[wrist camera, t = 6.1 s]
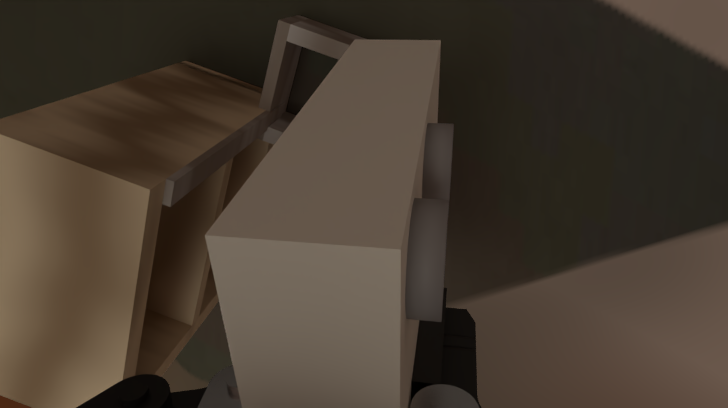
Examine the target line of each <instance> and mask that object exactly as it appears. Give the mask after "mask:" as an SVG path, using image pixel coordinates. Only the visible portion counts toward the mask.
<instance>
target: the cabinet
mask: <svg viewBox="0 0 728 408" xmlns="http://www.w3.org/2000/svg"><path fill="white" fill-rule="evenodd" d="M355 39H362V40H368V39H365V38H362V37H359V36H356V35H354V34H351V33H348V32H345V31H342V30H340V29H337V28H334V27H331V26H328V25H325V24H323V23H320V22H317V21H314V20H311V19H309V18H306V17H303V16H300V15H296V16H292V17H288V18H284V19H280V20H278V24H277V29H276V33H275V38H274V42H273V46H272V51H271V55H270V59H269V64H268V68H267V73H266V77H265V81H264V86H263V88H260V87H257V86H254V85H252V84H249V83H246V82H243V81H241V80H238V79H235V78H232V77H230V76H227V75H224V74H221V73H218V72H216V71H213V70H210V69H207V68H205V67H202V66H199V65H196V64H194V63H191V62H188V61H183V62H179V63H176V64H173V65H170V66H167V67H164V68H160V69H157V70H154V71H151V72H148V73H145V74H141V75H138V76H135V77H132V78H129V79H126V80H122V81H119V82H116V83H113V84H110V85H107V86H103V87H100V88H97V89H94V90H91V91H88V92H84V93H81V94H78V95H75V96H72V97H69V98H65V99H62V100H59V101H56V102H53V103H50V104H46V105H43V106H40V107H37V108H34V109H31V110H27V111H24V112H21V113H18V114H15V115H11V116H8V117H5V118H2V119H0V395H2V396H4V397H7V398H9V399H12V400H14V401H17V402H20V403H22V404H25V405H27V406H30V407H32V408H76V407H78V406H80V405H81V404H83V403H85V402H86V401H88V400H90V399H91V398H93V397H95V396H96V395H98V394H100V393H101V392H103V391H105V390H106V389H108V388H110V387H111V386H113V385H115V384H116V383H118V382H120V381H122V380H124V379H126V378H129V377H132V376H136V375H142V374H153V375H158V376H160V377H162V375H163V374H164V373H165V371H166V370H167V369H168V367H169V366H170V365H171V363H172V362H173V361H174V359H175V358H176V357H177V355H178V354H179V353H180V351H181V350H182V349H183V347H184V346H185V345H186V343H187V342H188V341H189V340H190V338H191V337H192V336H193V334H194V333H195V332H196V330H197V329H198V328H199V326H200V325H201V324H202V322H203V321H204V320H205V318H206V317H207V316H208V314H209V313H210V312H211V310H212V309H213V308H214V306H215V305H216V304H217V303H218V301H219V299H218V294H217V290H216V285H215V280H214V276H213V271H212V266H211V262H210V257H209V253H208V248H207V243H206V239H205V234H206V233H207V232H208V230H209V229H210V228H211V226H212V225H213V224H214V223H215V221H216V220H217V219H218V217H219V216H220V215H221V213H222V212H223V211H224V209H225V208H226V207H227V206H228V204H229V203H230V202H231V200H232V199H233V198H234V196H235V195H236V194H237V192H238V191H239V190H240V189H241V187H242V186H243V185H244V183H245V182H246V181H247V179H248V178H249V177H250V176H251V174H252V173H253V172H254V170H255V169H256V168H257V166H258V165H259V164H260V162H261V161H262V160H263V159H264V157H265V156H266V155H267V153H268V152H269V151H270V149H271V148H272V147H273V145H274V144H275V143H276V142H277V140H278V139H279V138H280V136H281V135H282V134H283V132H284V131H285V130H286V129H287V127H288V126H289V125H290V123H291V122H292V121H293V119H294V118H295V117H296V115H294V114H292V113H289V112H286V108H287V104H288V100H289V96H290V92H291V88H292V84H293V80H294V76H295V72H296V68H297V64H298V60H299V56H300V52H301V48H302V47H305V48H307V49H310V50H313V51H316V52H319V53H321V54H324V55H327V56H330V57H333V58H335V59H338V60H339V59H340V58H341V57H342V55H343V54H344V53H345V51H346V50H347V49H348V48H349V46H350V45H351V44H352V42H353V41H354V40H355Z"/></svg>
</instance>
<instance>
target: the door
mask: <svg viewBox="0 0 728 408" xmlns="http://www.w3.org/2000/svg"><path fill="white" fill-rule="evenodd" d="M440 48H441V40H362V39H355V40H354V41H353V42H352V44H351V45H350V46H349V48H348V49H347V50H346V51H345V53H344V54H343V55H342V57H341V58H340V59H339V61H338V62H337V63H336V65H335V66H334V67H333V68H332V70H331V71H330V72H329V74H328V75H327V76H326V78H325V79H324V80H323V82H322V83H321V84H320V85H319V87H318V88H317V89H316V91H315V92H314V93H313V95H312V96H311V97H310V98H309V100H308V101H307V102H306V104H305V105H304V106H303V108H302V109H301V110H300V112H299V113H298V114H297V115H296V117H295V118H294V119H293V121H292V122H291V123H290V125H289V126H288V127H287V129H286V130H285V131H284V132H283V134H282V135H281V136H280V138H279V139H278V140H277V142H276V143H275V144H274V145H273V147H272V148H271V149H270V151H269V152H268V153H267V155H266V156H265V157H264V159H263V160H262V161H261V162H260V164H259V165H258V166H257V168H256V169H255V170H254V172H253V173H252V174H251V176H250V177H249V178H248V179H247V181H246V182H245V183H244V185H243V186H242V187H241V189H240V190H239V191H238V192H237V194H236V195H235V196H234V198H233V199H232V200H231V202H230V203H229V204H228V206H227V207H226V208H225V209H224V211H223V212H222V213H221V215H220V216H219V217H218V219H217V220H216V221H215V223H214V224H213V225H212V226H211V228H210V229H209V230H208V232H207V233H206V234H205V239H206V243H207V248H208V253H209V257H210V262H211V266H212V271H213V276H214V280H215V285H216V290H217V294H218V299H219V303H220V308H221V313H222V317H223V322H224V327H225V331H226V336H227V340H228V345H229V350H230V354H231V359H232V364H233V368H234V373H235V377H236V382H237V387H238V391H239V396H240V401H241V405H242V408H410V405H411V383H412V374H413V366H414V358H415V351H416V343H417V335H418V327H419V320H423V321H434V322H441V321H442V306H443V291H444V275H445V258H446V241H447V224H448V214H449V199H450V182H451V166H452V149H453V131H454V124H447V123H437V121H438V97H439V72H440Z"/></svg>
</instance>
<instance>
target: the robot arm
mask: <svg viewBox="0 0 728 408" xmlns="http://www.w3.org/2000/svg"><path fill="white" fill-rule="evenodd" d="M446 292H447V288H444V291H443V306H442V321H441V322H434V321H423V320H419V327H418V335H417V343H416V351H415V358H414V366H413V374H412V383H411V405H410V408H481V406H480V404H479V402H478V398H477V375H476V374H477V373H476V340H475V339H476V338H475V337H476V335H475V334H476V333H475V322H474V320H473V318H472V317H471V316H470V314H469V313H468V311H467V310H466V309H456V308H446ZM76 408H242V405H241V401H240V396H239V391H238V387H237V382H236V377H235V373H234V368H233V365H231V366H228V367H226V368H224V369H222V370H221V371H219V372H218V373H217V374H216V375H214V377H213V378H212V379H211V381H210V382H209V384H208V386H207V387H206V388H202V389H197V390H189V391H181V392H173V393H171V392H170V387H169V384H168V383H167V381H166V380H165V379H163V378H162V377H160V376H158V375H153V374H142V375H136V376H132V377H129V378H126V379H124V380H122V381H120V382H118V383H116V384H115V385H113V386H111V387H110V388H108V389H106V390H105V391H103V392H101V393H100V394H98V395H96V396H95V397H93V398H91V399H90V400H88V401H86V402H85V403H83V404H81V405H80V406H78V407H76Z"/></svg>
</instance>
